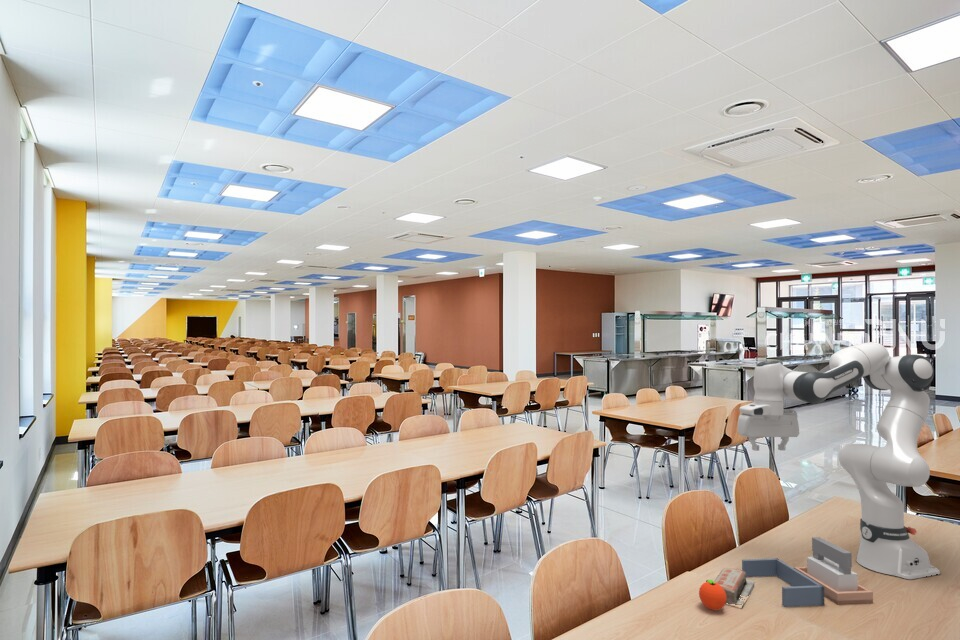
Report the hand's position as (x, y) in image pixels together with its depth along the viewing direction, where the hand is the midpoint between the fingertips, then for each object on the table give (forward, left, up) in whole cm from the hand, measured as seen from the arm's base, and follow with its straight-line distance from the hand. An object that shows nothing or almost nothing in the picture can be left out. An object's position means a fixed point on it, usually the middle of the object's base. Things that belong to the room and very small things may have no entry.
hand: (768, 450), depth 172 cm
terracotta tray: (-6, +19, -37) cm, 42 cm away
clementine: (+36, +26, -37) cm, 58 cm away
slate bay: (+10, +18, -37) cm, 42 cm away
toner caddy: (-6, +19, -36) cm, 41 cm away
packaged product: (+25, +18, -38) cm, 49 cm away
